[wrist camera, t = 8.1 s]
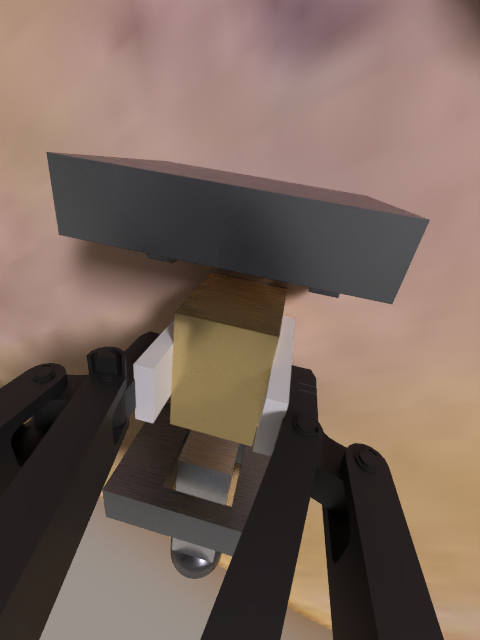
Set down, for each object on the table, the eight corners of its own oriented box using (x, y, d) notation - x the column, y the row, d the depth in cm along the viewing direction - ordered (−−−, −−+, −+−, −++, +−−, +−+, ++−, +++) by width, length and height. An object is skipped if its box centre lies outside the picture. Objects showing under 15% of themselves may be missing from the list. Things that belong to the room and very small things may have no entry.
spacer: (202, 363, 18) (169, 423, 14) (212, 272, 15) (174, 312, 11) (265, 378, 18) (251, 446, 13) (287, 288, 15) (279, 337, 10)
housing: (282, 459, 21) (273, 581, 14) (158, 425, 22) (100, 526, 15) (371, 196, 12) (439, 221, 6) (162, 160, 13) (39, 150, 7)
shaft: (227, 526, 24) (214, 586, 21) (181, 512, 24) (161, 569, 21) (251, 426, 18) (238, 487, 15) (191, 410, 19) (165, 465, 15)
